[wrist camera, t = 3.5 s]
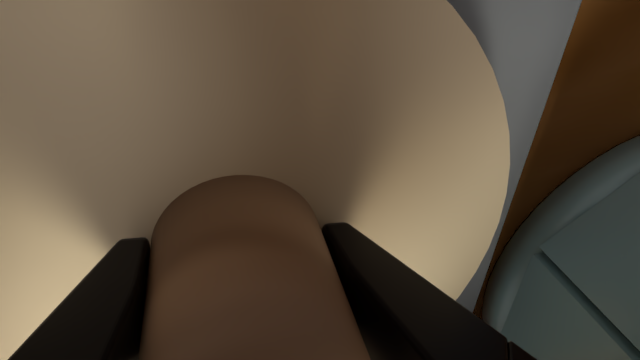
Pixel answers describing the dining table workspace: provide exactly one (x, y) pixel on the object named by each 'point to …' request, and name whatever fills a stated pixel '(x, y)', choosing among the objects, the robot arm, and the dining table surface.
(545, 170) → the dining table surface
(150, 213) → the lid
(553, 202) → the grooved blue cylinder
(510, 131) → the mat
